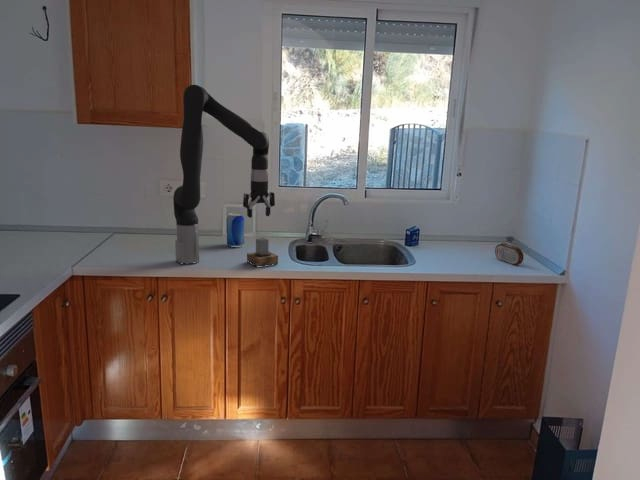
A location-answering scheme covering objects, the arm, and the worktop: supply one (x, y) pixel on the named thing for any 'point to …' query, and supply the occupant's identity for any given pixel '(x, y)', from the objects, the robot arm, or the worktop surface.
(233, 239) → the beer can
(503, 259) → the tin
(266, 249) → the peg
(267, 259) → the wooden square frame
